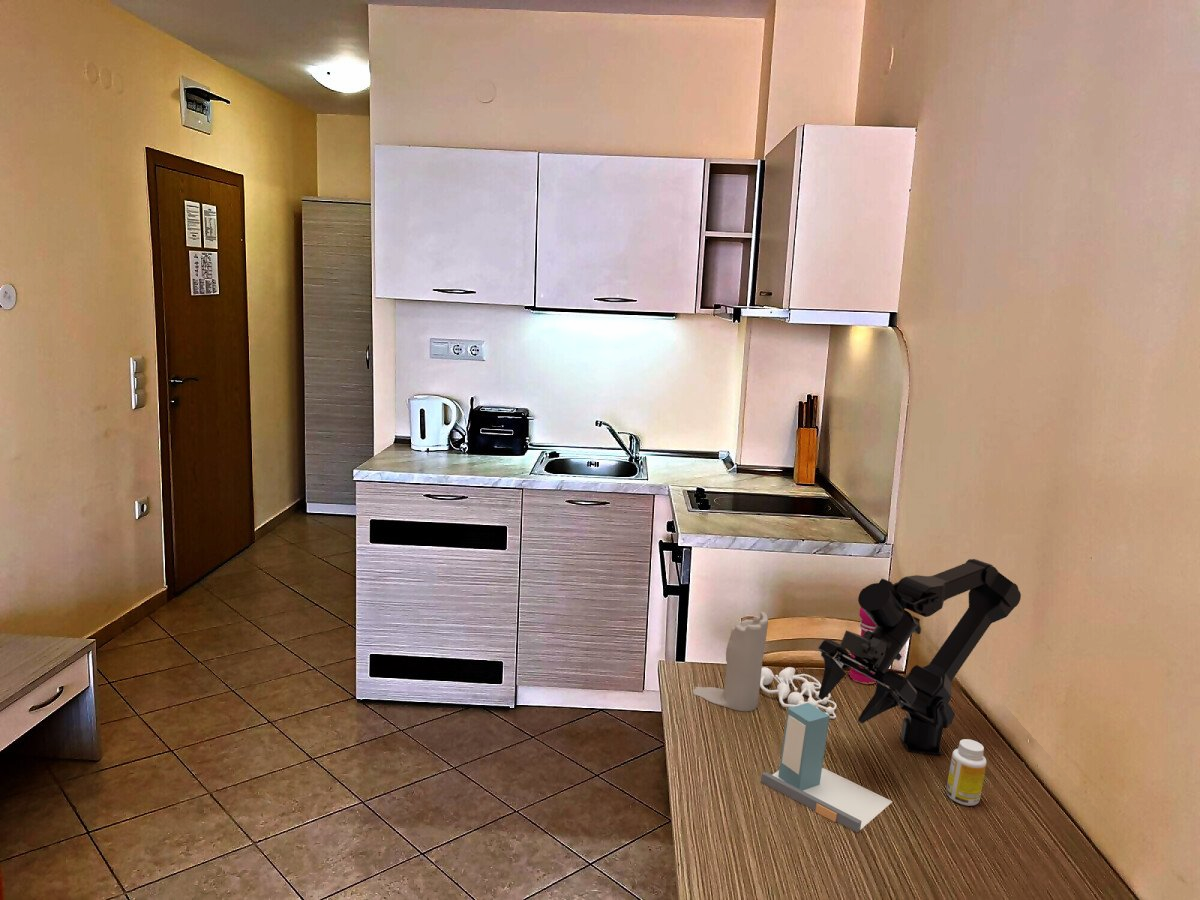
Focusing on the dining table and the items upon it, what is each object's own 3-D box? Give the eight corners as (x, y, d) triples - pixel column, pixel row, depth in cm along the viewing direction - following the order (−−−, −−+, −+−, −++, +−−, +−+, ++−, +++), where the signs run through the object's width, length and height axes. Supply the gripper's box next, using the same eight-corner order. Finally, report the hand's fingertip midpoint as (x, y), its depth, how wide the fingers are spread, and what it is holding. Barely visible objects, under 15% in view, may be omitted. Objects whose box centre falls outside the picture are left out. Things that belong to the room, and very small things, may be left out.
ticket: (815, 815, 143) (817, 803, 142) (835, 825, 140) (837, 813, 140) (814, 815, 143) (816, 803, 142) (834, 826, 140) (836, 814, 140)
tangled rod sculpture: (854, 725, 178) (859, 707, 177) (795, 727, 173) (800, 708, 172) (802, 680, 196) (806, 663, 195) (747, 680, 191) (751, 663, 190)
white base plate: (798, 762, 159) (800, 748, 159) (891, 807, 148) (894, 793, 147) (760, 788, 150) (762, 773, 149) (856, 839, 138) (858, 823, 138)
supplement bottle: (986, 803, 151) (996, 750, 149) (963, 809, 149) (973, 755, 147) (960, 786, 156) (970, 734, 154) (938, 791, 154) (947, 739, 152)
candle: (698, 683, 188) (708, 596, 184) (761, 701, 182) (772, 611, 178) (687, 696, 181) (697, 606, 178) (751, 715, 176) (763, 622, 172)
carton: (798, 770, 155) (808, 702, 152) (819, 784, 150) (829, 715, 148) (777, 776, 152) (787, 708, 149) (798, 791, 148) (808, 721, 145)
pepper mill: (881, 688, 193) (894, 603, 189) (848, 683, 195) (860, 598, 191) (877, 674, 200) (890, 592, 196) (845, 669, 202) (858, 588, 198)
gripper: (829, 597, 160) (780, 665, 156) (913, 636, 145) (861, 713, 141) (854, 628, 166) (808, 694, 162) (938, 668, 150) (889, 743, 147)
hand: (839, 709), depth 153 cm, fingers open, 9 cm apart
